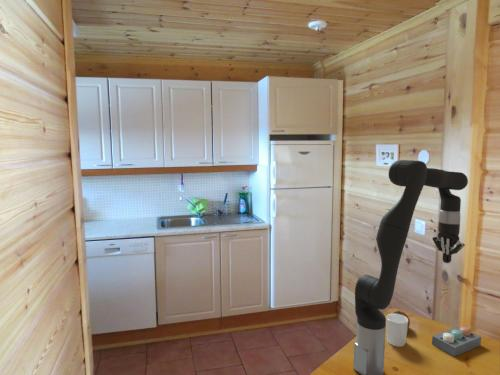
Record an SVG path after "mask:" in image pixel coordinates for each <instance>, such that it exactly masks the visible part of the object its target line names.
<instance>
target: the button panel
mask: <svg viewBox="0 0 500 375" xmlns="http://www.w3.org/2000/svg"><path fill="white" fill-rule="evenodd" d="M460 327H461V326H460V325H457V326H455V327H452V328H450V329H447V330H444V331H441V332H439V333H436V334H434V335H432V337H431V338H432V339H431V345H432V346H434V347H436V348H438V349H440V350H441V351H443V352H445V353H447V354H449V355H451V357H456V356H460V355H461V354H463V353H466V352H468V351H470V350H473V349H475V348H478V347H480V346H481V344H482V336H481V335H478V334H476V333H475V332H472V331H471V336H469V337H465V336H463V338H462V339H461V340H459V341H458V340H457V339H455V338H454V343H451V344H449V343H447V342H445V341H443V333H450V334H451V331H452V330H459V329H460Z"/></svg>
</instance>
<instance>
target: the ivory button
mask: <svg viewBox="0 0 500 375" xmlns="http://www.w3.org/2000/svg"><path fill="white" fill-rule="evenodd" d="M443 341H445V342H447V343H449V344H451V343H454V335H452V334H450V333H443Z"/></svg>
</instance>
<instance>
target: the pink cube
mask: <svg viewBox="0 0 500 375" xmlns="http://www.w3.org/2000/svg"><path fill="white" fill-rule="evenodd" d="M459 331H461V332H462V333H463V336H465V337H469V336H471V332H472V329H471V328H469V327H467V326H460V329H459Z"/></svg>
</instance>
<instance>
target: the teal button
mask: <svg viewBox="0 0 500 375" xmlns="http://www.w3.org/2000/svg"><path fill="white" fill-rule="evenodd" d="M451 334H452V335H454V338H455V339H457V340H458V341H459V340H461V339H462V338H463V333H462V332H461V331H459V330H452V331H451Z"/></svg>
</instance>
